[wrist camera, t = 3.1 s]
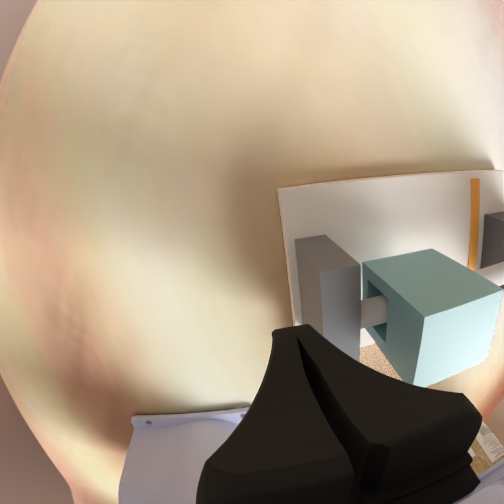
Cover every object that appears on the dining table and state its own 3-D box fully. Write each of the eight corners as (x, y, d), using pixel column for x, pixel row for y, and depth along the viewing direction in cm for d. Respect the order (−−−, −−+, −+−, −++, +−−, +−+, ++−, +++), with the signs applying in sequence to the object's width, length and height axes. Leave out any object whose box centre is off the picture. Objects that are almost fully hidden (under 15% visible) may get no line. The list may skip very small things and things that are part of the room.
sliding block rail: (295, 352, 18) (324, 439, 12) (276, 188, 15) (314, 212, 9) (490, 297, 19) (549, 338, 12) (499, 169, 16) (576, 185, 9)
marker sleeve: (362, 324, 14) (411, 392, 9) (362, 262, 13) (424, 317, 8) (427, 306, 14) (486, 359, 9) (431, 248, 13) (503, 289, 8)
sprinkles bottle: (427, 426, 23) (486, 523, 10) (461, 394, 22) (531, 486, 9) (443, 435, 24) (496, 519, 11) (473, 406, 23) (534, 486, 10)
